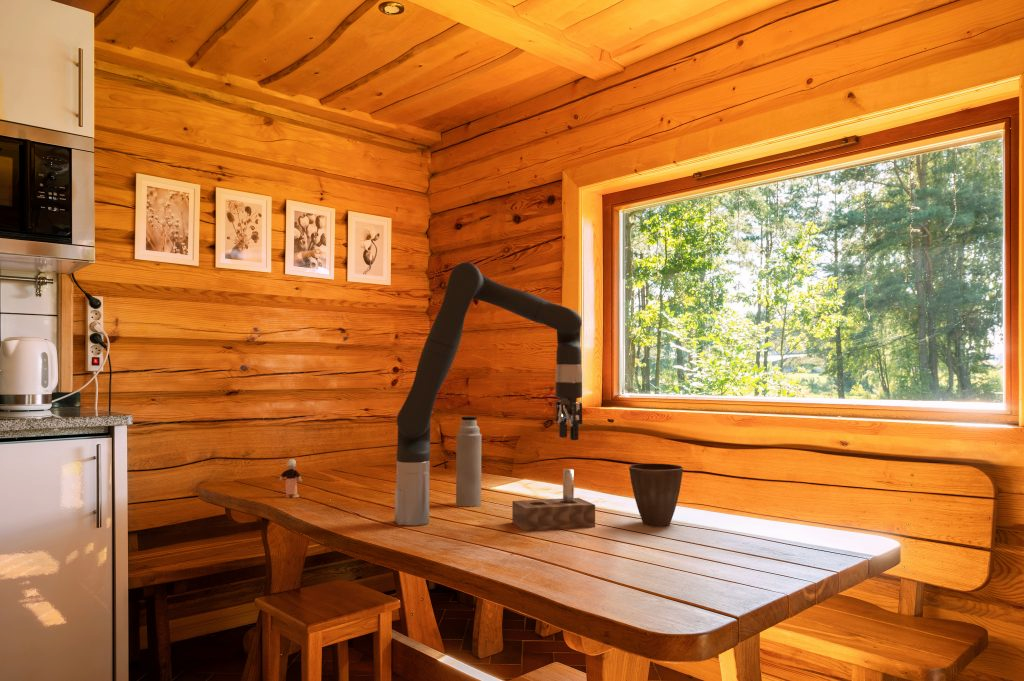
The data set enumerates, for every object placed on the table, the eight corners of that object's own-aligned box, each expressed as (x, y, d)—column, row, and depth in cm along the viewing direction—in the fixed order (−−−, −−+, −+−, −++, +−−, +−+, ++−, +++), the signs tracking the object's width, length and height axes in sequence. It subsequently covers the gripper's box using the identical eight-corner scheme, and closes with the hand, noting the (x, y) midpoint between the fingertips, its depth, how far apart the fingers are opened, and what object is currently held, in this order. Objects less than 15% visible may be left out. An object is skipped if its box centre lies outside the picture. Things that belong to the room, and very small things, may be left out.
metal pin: (565, 521, 208) (565, 470, 209) (561, 519, 211) (561, 469, 212) (575, 520, 209) (575, 470, 210) (571, 518, 212) (571, 468, 213)
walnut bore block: (525, 531, 200) (525, 507, 200) (512, 522, 211) (512, 500, 212) (595, 526, 206) (595, 504, 206) (578, 518, 217) (578, 497, 218)
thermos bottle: (458, 502, 244) (459, 415, 245) (482, 502, 243) (483, 416, 244) (454, 506, 236) (454, 417, 237) (479, 507, 235) (479, 417, 236)
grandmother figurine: (303, 495, 255) (303, 458, 256) (300, 497, 251) (301, 459, 252) (280, 496, 255) (280, 458, 255) (277, 497, 251) (278, 459, 252)
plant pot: (659, 531, 200) (659, 471, 200) (617, 523, 211) (617, 465, 212) (694, 524, 209) (694, 467, 210) (652, 516, 221) (652, 462, 221)
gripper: (547, 380, 217) (547, 436, 217) (565, 381, 204) (565, 441, 203) (571, 380, 220) (571, 436, 219) (591, 381, 206) (590, 440, 205)
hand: (568, 438), depth 211 cm, fingers open, 8 cm apart
